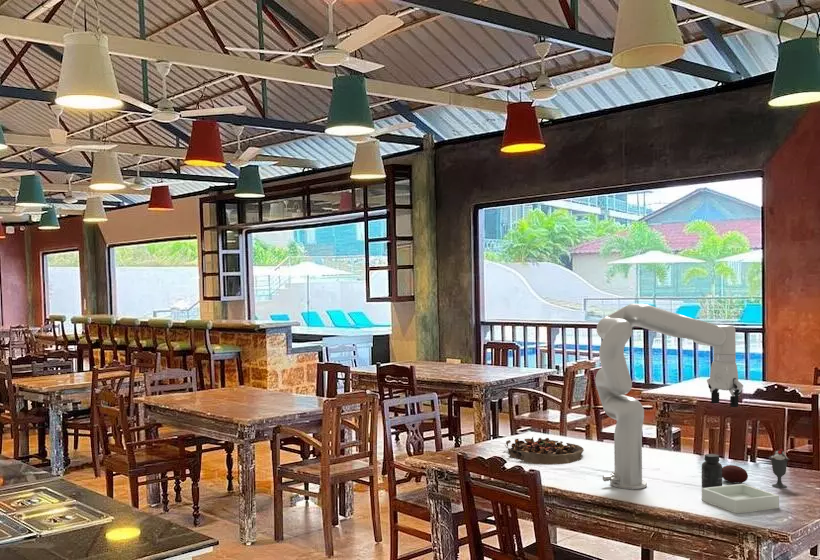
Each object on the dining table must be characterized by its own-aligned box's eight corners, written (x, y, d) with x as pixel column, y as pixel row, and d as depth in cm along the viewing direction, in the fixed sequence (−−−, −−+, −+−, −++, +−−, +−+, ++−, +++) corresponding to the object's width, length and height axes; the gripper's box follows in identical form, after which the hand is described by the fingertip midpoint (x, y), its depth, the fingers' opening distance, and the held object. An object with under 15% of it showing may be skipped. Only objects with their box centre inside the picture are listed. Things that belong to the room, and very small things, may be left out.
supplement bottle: (724, 492, 272) (723, 457, 272) (703, 491, 274) (703, 456, 274) (720, 487, 279) (720, 453, 279) (700, 486, 280) (699, 452, 280)
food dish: (505, 448, 353) (505, 430, 353) (580, 451, 348) (580, 433, 349) (503, 463, 318) (503, 444, 319) (587, 467, 314) (587, 447, 314)
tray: (736, 513, 248) (736, 500, 248) (701, 500, 263) (701, 488, 263) (779, 508, 253) (779, 495, 253) (743, 495, 268) (743, 483, 268)
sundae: (781, 489, 275) (781, 446, 275) (765, 485, 281) (764, 443, 281) (794, 487, 278) (793, 444, 278) (777, 483, 284) (777, 441, 284)
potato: (728, 478, 292) (728, 461, 292) (753, 484, 283) (752, 467, 283) (715, 481, 288) (715, 464, 288) (740, 487, 279) (740, 469, 279)
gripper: (700, 356, 298) (700, 402, 298) (733, 361, 281) (733, 409, 281) (716, 356, 300) (716, 401, 300) (750, 360, 284) (750, 407, 284)
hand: (724, 405), depth 291 cm, fingers open, 9 cm apart
